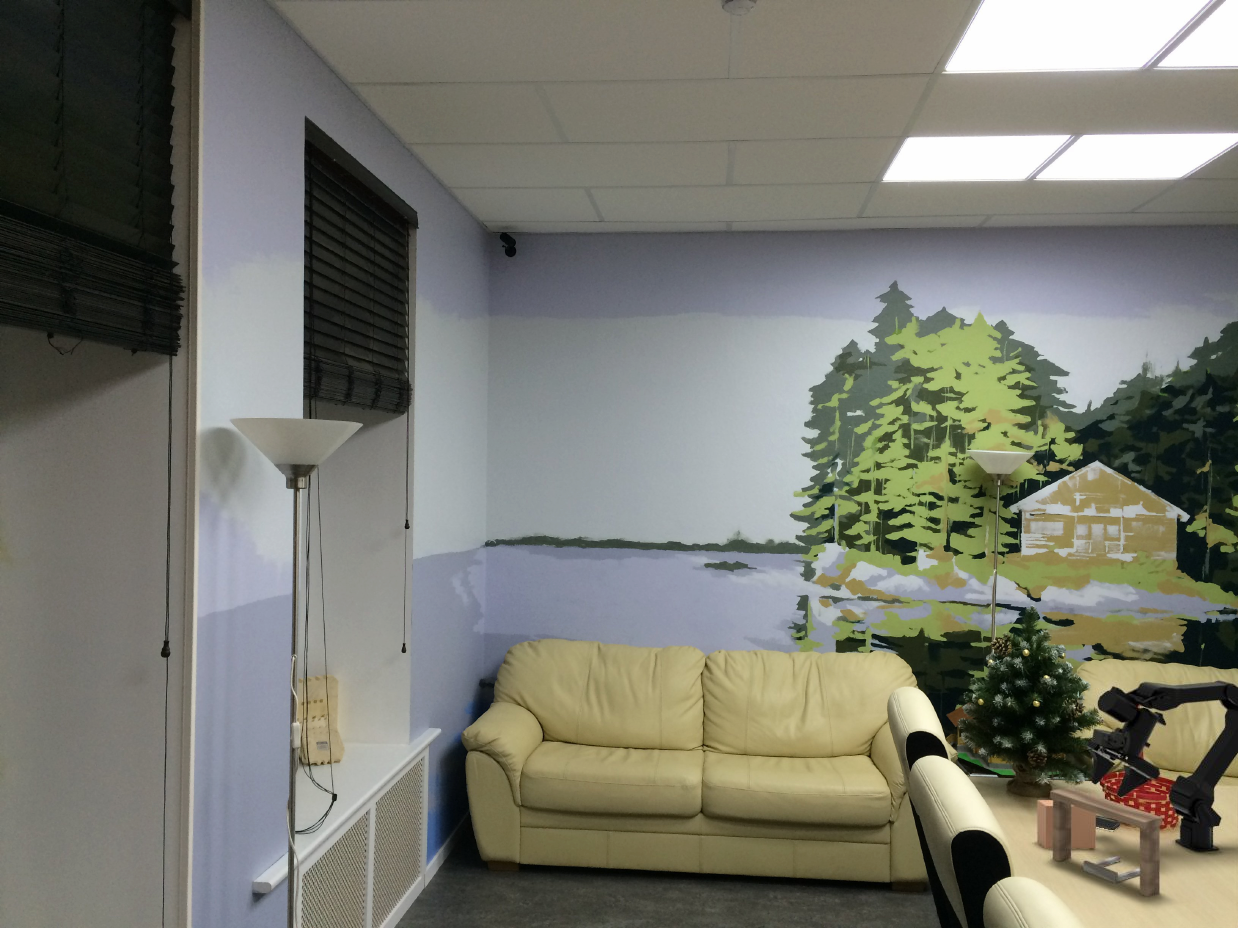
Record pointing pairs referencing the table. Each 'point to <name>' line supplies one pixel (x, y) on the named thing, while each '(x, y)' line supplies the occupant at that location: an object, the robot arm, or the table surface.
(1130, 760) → the robot arm
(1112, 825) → the phone
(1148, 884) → the walnut bridge
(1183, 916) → the table surface
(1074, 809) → the terracotta panel
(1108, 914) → the table surface
